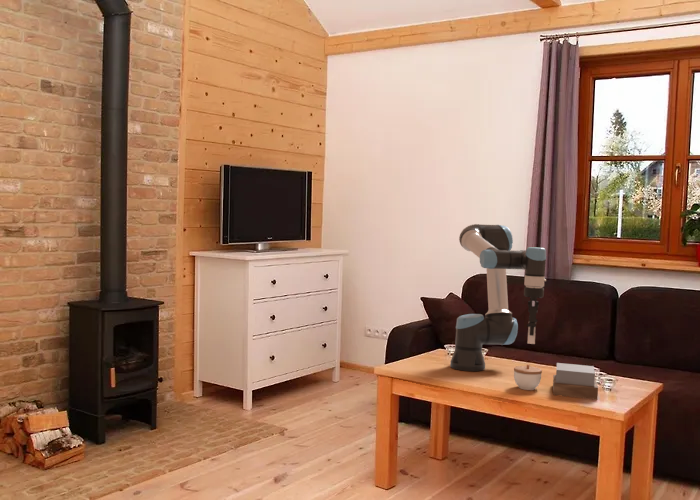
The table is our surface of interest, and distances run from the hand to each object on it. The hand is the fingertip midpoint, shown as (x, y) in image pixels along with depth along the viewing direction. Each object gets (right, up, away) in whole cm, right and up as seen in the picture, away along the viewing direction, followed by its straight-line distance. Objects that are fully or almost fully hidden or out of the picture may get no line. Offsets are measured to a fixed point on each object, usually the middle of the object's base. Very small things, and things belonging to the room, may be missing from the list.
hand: (531, 340), depth 289 cm
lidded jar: (-2, -19, +1) cm, 19 cm away
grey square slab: (+16, -15, -3) cm, 22 cm away
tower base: (+16, -20, -3) cm, 26 cm away
